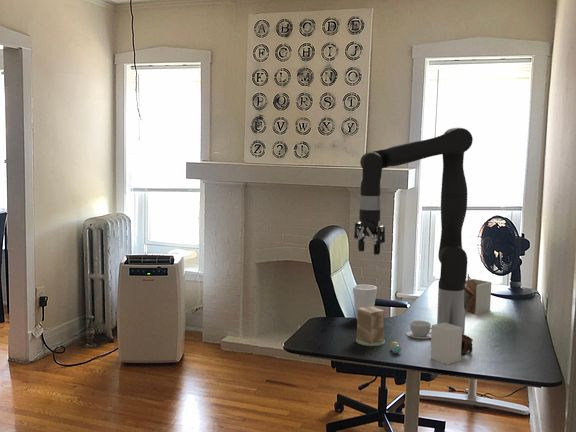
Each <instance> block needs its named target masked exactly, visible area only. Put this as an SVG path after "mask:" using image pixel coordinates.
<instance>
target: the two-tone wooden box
mask: <svg viewBox="0 0 576 432" xmlns="http://www.w3.org/2000/svg"><path fill="white" fill-rule="evenodd" d="M491 295H492V282H491V281H487V280H482V279H476V278H471V277H470V274H469V273H468V274H467V278H466V283H465V289H464V309H465V310H466V313H469V314H473V315H478V314H482V313H485V312H486V313H487V312H489V311H491V301H492V299H491V297H492V296H491Z"/></svg>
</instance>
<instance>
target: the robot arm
mask: <svg viewBox="0 0 576 432" xmlns="http://www.w3.org/2000/svg"><path fill="white" fill-rule="evenodd" d="M473 139H474V138H473V136H472V133H471V132H470V131H469V130H468V129H467V128H464V127H460V126H459V127H451V128H449V129H446V131H445V132H444V133H443V134H441V135H439V136H435V137H431V138H427V139H423V140H422V139H421V140H417V141H411V142H407V143H402V144H398V145H394V146H391V147H387V148H385V149H379V150H374V151H369V152H366V153H365V154H362V156H361V158H360V162H359V163H360V164H359V165H360V167H361V168H362V180H361V182H360V197H359V209H358V211H359V212H358V213H359V214H358V215H359V217H358V218H359V219H358V220H359V222H355V223H354V235H353V236H354V239H356V240H357V242H358V243H357V249H358V252H364V251H365V239H366V238H367V237H370V239H371V240H372V241H373V255H374V256H376V255H380V253H381V244H385V242H386V236H385V235H386V234H385V233H386V229H385V226H384V225H379V222H380V221H381V210H382V209H381V205H382V203H381V178H382V172H383V169H385V168H390V167H398V166H402V165H406V164H411V163H413V162H416V161H421V160H424V159H428V158H430V157H434V156H440V155H442V176H441V177H442V178H441V191H440V222H441V224H440V225H441V227H440V228H441V231H440V240H439V249H438V254H437V255H438V256H437V257H438V261H439V263H440V276H439V279H438V290H437V291H438V292H437V298H438V299H437V316H436V317H437V319H436V324H439V323H444V322H445V323H449V324H452V325H455V326H458V327H462V334H464V335H465V326H466V308H465V309H464V289H465V283H466V280H467V277H468V274H467V273H468V255H467V252H466V251H465V250H464V249H463V239H462V236H463V235H462V233H463V226H464V225H463V224H464V222H465V219H466V214H467V211H468V210H467V208H468V186H467V185H468V184H467V179H466V177H465V176H466V175H465V172H464V171H465V170H464V159H465V158H464V157H465V152H467V151H468V150H469V149H470V148H471V147H472V145H473V141H474V140H473Z"/></svg>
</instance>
